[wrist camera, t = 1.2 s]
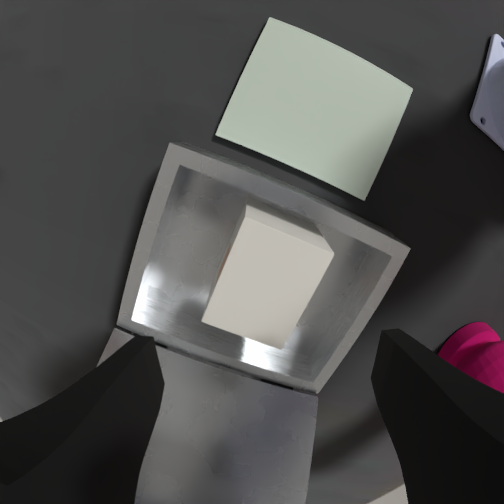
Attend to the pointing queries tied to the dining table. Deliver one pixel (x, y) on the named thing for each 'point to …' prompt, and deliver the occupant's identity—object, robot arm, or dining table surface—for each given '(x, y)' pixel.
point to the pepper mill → (477, 354)
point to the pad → (315, 108)
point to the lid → (224, 437)
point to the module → (266, 275)
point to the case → (210, 255)
